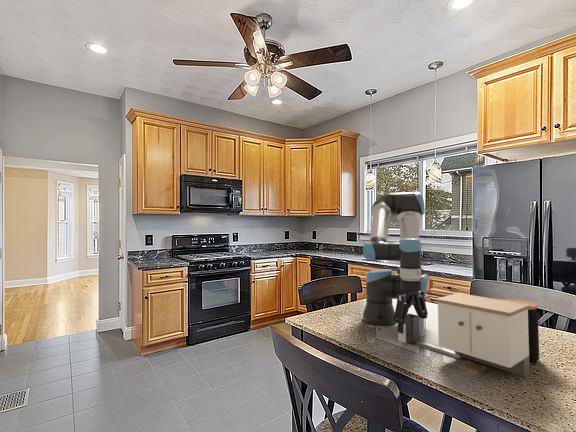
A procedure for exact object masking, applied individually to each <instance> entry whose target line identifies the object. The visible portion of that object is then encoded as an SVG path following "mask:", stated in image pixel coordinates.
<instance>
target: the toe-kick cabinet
mask: <svg viewBox="0 0 576 432" xmlns="http://www.w3.org/2000/svg"><path fill="white" fill-rule="evenodd" d="M435 303H437V322H438V324H437V325H438V327H437V329H438V332H437V333H438V347H440V348H443V349H447V350H450V351H453V352H456V353H459V354H462V358H465V359H468V360H472V361H475V362H478V363H481V364H484V365H487V366H491V367H494V368H495V369H500V370H502V371H505V372H506V371H507V372H509V373H512V374H515V375H518V376H522V377H526V376H527V375H528V374H530V364H529V335H528V309H530V305H528V304H522V303H516V302H510V301H504V299H497V298H491V297H484V296H480V295H479V296H478V295H472V294H466V293H460V292H458V293H453V294H450V295H446V296H441V297H437V298H435Z"/></svg>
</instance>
